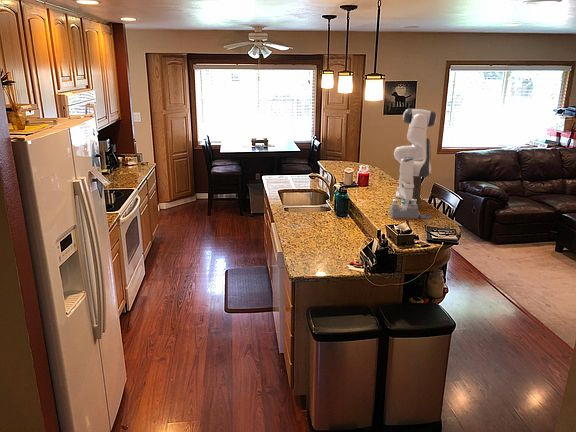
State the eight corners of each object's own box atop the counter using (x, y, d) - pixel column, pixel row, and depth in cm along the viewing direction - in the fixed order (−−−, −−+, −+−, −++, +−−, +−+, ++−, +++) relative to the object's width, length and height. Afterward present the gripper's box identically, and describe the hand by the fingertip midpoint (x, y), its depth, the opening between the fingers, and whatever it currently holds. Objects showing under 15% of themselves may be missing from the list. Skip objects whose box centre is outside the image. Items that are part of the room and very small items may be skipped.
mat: (417, 215, 302) (417, 214, 301) (429, 215, 301) (429, 214, 301) (420, 219, 294) (420, 218, 294) (432, 219, 294) (432, 218, 294)
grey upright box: (420, 210, 313) (422, 174, 306) (407, 210, 314) (409, 174, 307) (417, 203, 331) (419, 169, 324) (405, 202, 332) (407, 168, 325)
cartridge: (399, 215, 303) (400, 200, 300) (406, 215, 303) (407, 200, 300) (401, 217, 299) (402, 202, 296) (408, 217, 299) (409, 202, 296)
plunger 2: (410, 207, 301) (410, 198, 299) (415, 207, 301) (416, 198, 299) (411, 208, 298) (411, 200, 296) (416, 208, 297) (417, 200, 296)
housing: (389, 214, 306) (389, 203, 304) (415, 213, 305) (415, 202, 303) (392, 218, 296) (392, 207, 294) (418, 218, 296) (419, 207, 294)
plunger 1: (391, 207, 301) (392, 199, 300) (397, 207, 301) (397, 198, 300) (392, 209, 298) (393, 200, 296) (398, 209, 298) (398, 200, 296)
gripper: (397, 179, 304) (396, 200, 308) (404, 186, 285) (403, 207, 288) (407, 179, 304) (406, 199, 308) (414, 186, 285) (413, 207, 288)
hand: (405, 203), depth 298 cm, fingers open, 8 cm apart
